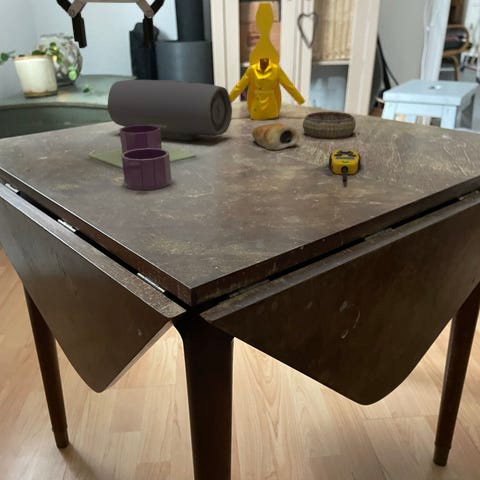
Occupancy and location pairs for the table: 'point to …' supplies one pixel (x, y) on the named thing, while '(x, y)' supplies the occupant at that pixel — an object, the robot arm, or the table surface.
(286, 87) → the yellow coat
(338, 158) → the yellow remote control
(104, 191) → the table surface
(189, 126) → the bluetooth speaker
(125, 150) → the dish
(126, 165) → the ribbed purple cap
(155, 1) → the robot arm
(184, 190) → the table surface
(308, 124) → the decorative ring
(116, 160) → the placemat
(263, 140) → the pastry
